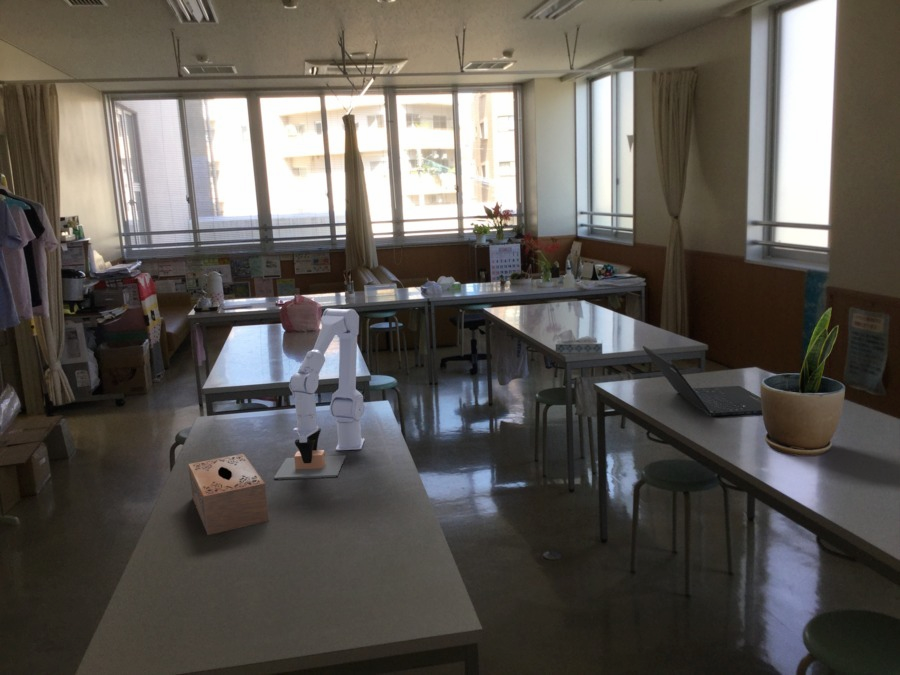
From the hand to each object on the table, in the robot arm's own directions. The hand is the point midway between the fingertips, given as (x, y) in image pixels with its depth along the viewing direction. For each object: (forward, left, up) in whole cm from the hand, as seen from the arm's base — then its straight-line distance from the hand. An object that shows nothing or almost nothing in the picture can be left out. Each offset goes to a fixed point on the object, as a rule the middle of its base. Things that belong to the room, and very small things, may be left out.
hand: (310, 458), depth 214 cm
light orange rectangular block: (0, 0, -2) cm, 2 cm away
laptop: (-47, +132, -4) cm, 140 cm away
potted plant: (+1, +142, -3) cm, 142 cm away
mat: (0, 0, -3) cm, 3 cm away
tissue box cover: (+27, -16, -3) cm, 32 cm away
